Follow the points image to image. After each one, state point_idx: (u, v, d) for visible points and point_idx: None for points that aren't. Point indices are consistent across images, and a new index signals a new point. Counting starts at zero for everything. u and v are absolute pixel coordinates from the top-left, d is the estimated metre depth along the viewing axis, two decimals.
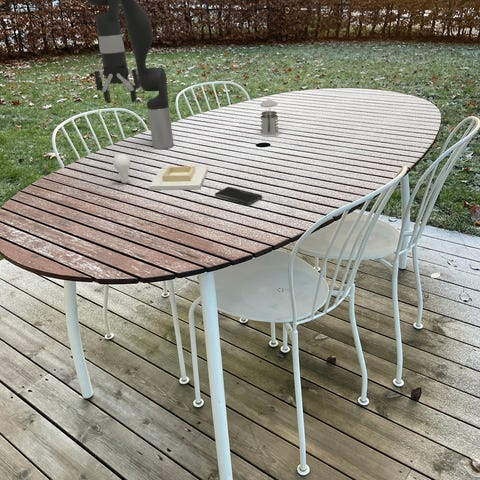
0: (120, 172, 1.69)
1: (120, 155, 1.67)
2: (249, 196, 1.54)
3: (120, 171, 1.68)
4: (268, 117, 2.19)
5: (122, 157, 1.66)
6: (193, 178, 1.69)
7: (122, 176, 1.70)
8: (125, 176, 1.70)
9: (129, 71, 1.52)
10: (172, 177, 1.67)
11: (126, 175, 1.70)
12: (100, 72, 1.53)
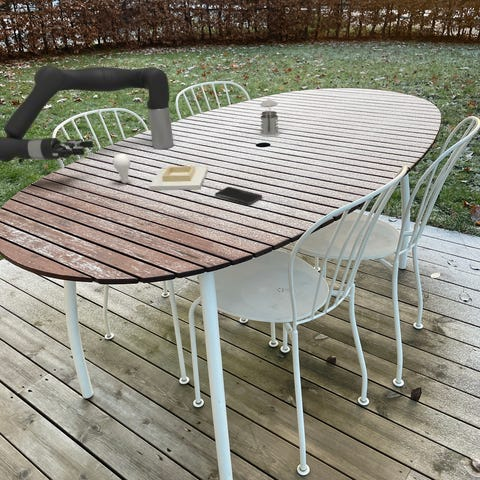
0: (120, 172, 1.69)
1: (120, 155, 1.67)
2: (249, 196, 1.54)
3: (120, 171, 1.68)
4: (268, 117, 2.19)
5: (122, 157, 1.66)
6: (193, 178, 1.69)
7: (122, 176, 1.70)
8: (125, 176, 1.70)
9: None
10: (172, 177, 1.67)
11: (126, 175, 1.70)
12: None
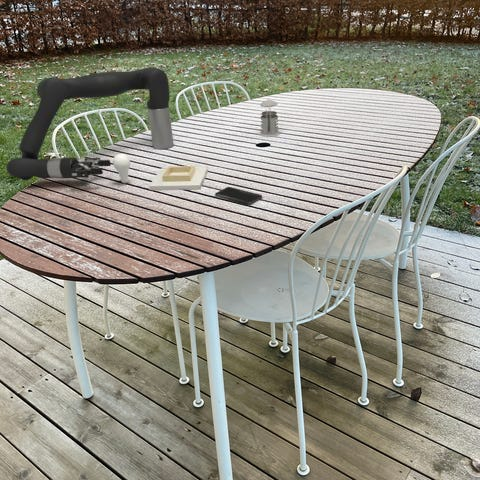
0: (120, 172, 1.69)
1: (120, 155, 1.67)
2: (249, 196, 1.54)
3: (120, 171, 1.68)
4: (268, 117, 2.19)
5: (122, 157, 1.66)
6: (193, 178, 1.69)
7: (122, 176, 1.70)
8: (125, 176, 1.70)
9: None
10: (172, 177, 1.67)
11: (126, 175, 1.70)
12: None
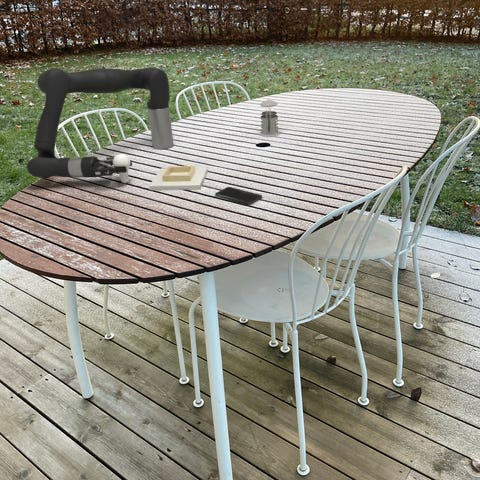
0: None
1: (120, 155, 1.67)
2: (249, 196, 1.54)
3: None
4: (268, 117, 2.19)
5: (122, 157, 1.66)
6: (193, 178, 1.69)
7: (122, 176, 1.70)
8: (125, 176, 1.70)
9: None
10: (172, 177, 1.67)
11: (126, 175, 1.70)
12: None
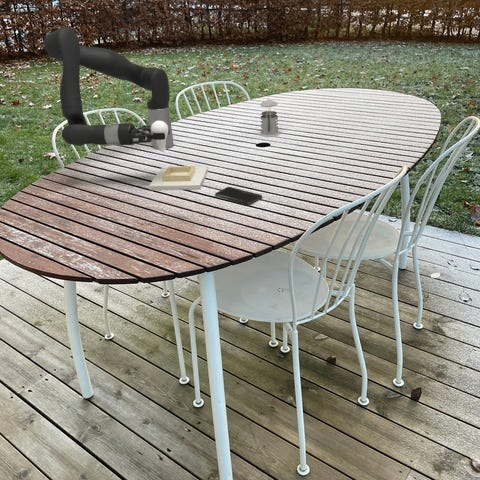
0: None
1: (158, 122, 1.61)
2: (249, 196, 1.54)
3: None
4: (268, 117, 2.19)
5: (160, 124, 1.61)
6: (193, 178, 1.69)
7: (160, 144, 1.64)
8: (163, 144, 1.65)
9: None
10: (172, 177, 1.67)
11: (164, 143, 1.65)
12: None
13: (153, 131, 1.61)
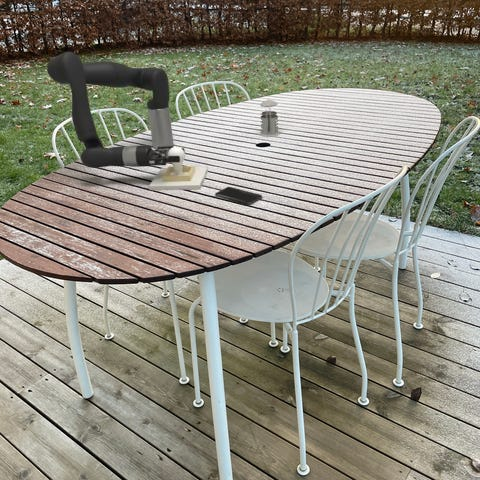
0: (175, 165, 1.68)
1: (175, 148, 1.66)
2: (249, 196, 1.54)
3: (175, 164, 1.67)
4: (268, 117, 2.19)
5: (177, 150, 1.65)
6: (193, 178, 1.69)
7: (177, 169, 1.69)
8: (180, 169, 1.69)
9: None
10: (172, 177, 1.67)
11: (181, 168, 1.69)
12: None
13: None
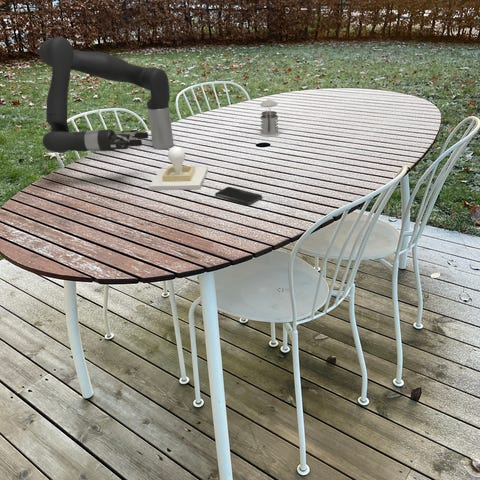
0: (175, 165, 1.68)
1: (176, 148, 1.66)
2: (249, 196, 1.54)
3: (175, 164, 1.67)
4: (268, 117, 2.19)
5: (178, 150, 1.65)
6: (193, 178, 1.69)
7: (177, 169, 1.69)
8: (180, 169, 1.69)
9: None
10: (172, 177, 1.67)
11: (181, 168, 1.69)
12: None
13: (170, 157, 1.66)
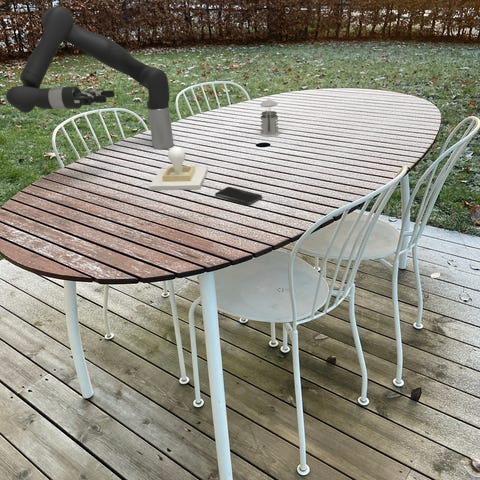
0: (175, 165, 1.68)
1: (176, 148, 1.66)
2: (249, 196, 1.54)
3: (175, 164, 1.67)
4: (268, 117, 2.19)
5: (178, 150, 1.65)
6: (193, 178, 1.69)
7: (177, 169, 1.69)
8: (180, 169, 1.69)
9: None
10: (172, 177, 1.67)
11: (181, 168, 1.69)
12: None
13: (171, 157, 1.66)
